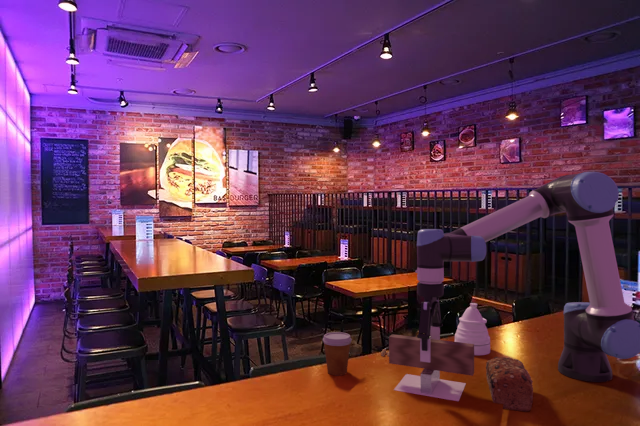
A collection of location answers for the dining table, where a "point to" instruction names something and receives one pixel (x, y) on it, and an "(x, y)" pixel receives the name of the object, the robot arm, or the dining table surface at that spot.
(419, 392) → the base plate
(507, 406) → the bread
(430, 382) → the steel ridge
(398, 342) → the walnut beam
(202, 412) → the dining table surface
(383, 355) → the dice set
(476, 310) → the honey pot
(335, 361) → the disposable coffee cup
